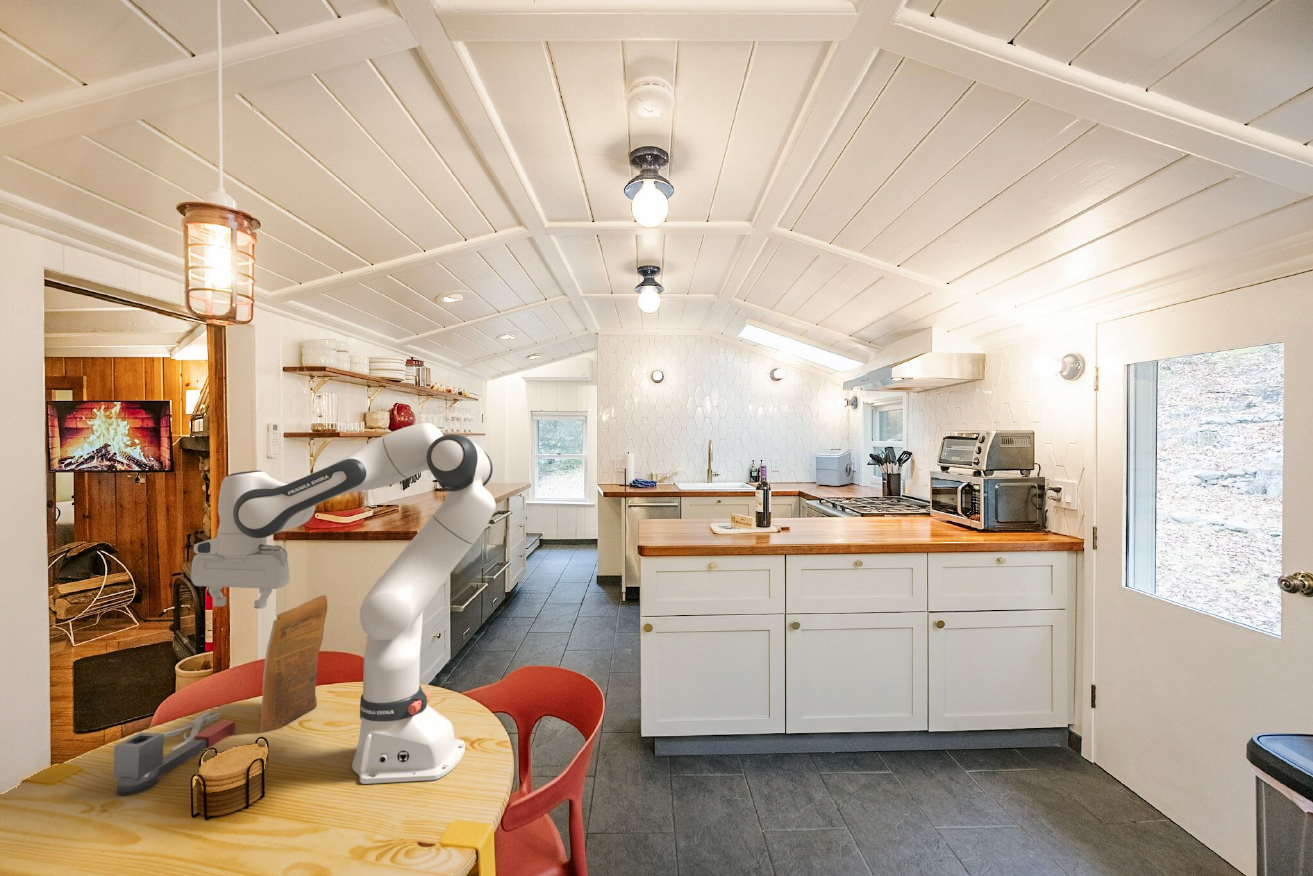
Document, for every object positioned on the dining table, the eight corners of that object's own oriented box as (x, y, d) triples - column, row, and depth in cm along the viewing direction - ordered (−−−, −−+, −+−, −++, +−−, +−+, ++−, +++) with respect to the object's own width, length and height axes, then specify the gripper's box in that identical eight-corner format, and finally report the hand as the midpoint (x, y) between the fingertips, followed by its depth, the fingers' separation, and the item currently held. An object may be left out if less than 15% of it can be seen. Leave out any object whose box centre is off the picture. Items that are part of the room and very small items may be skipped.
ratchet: (239, 732, 129) (241, 697, 129) (136, 796, 105) (138, 753, 105) (215, 730, 129) (216, 696, 130) (107, 794, 106) (108, 752, 106)
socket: (162, 764, 111) (164, 733, 111) (137, 778, 106) (139, 747, 106) (139, 762, 111) (140, 732, 111) (113, 777, 106) (114, 745, 106)
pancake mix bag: (334, 701, 145) (337, 594, 146) (271, 738, 127) (275, 615, 127) (312, 698, 147) (315, 592, 147) (246, 735, 128) (250, 612, 128)
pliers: (132, 743, 121) (195, 710, 136) (132, 750, 121) (195, 717, 136) (174, 746, 120) (233, 713, 135) (173, 753, 120) (232, 719, 135)
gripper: (297, 543, 125) (295, 604, 125) (211, 540, 126) (209, 601, 126) (276, 548, 119) (274, 613, 119) (186, 545, 120) (183, 609, 120)
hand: (240, 607), depth 122 cm, fingers open, 8 cm apart
